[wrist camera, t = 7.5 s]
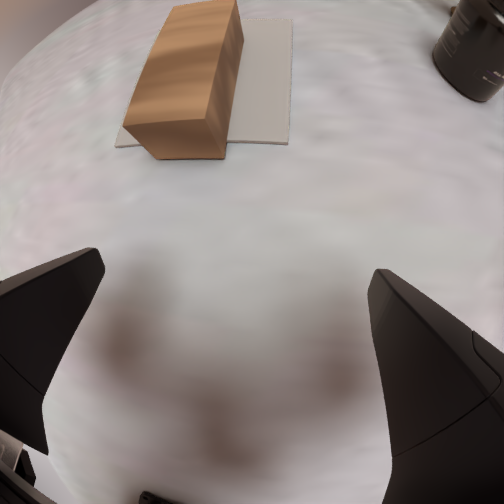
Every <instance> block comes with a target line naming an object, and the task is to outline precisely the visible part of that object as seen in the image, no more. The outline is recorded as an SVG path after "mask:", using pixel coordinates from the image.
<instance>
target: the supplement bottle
mask: <svg viewBox="0 0 504 504" xmlns="http://www.w3.org/2000/svg"><path fill="white" fill-rule="evenodd" d="M433 54H434V59H435V62H436V64H437V66H438V68H439V70H440V71H441V73H442V74H443V75H444V76H445V78H446V79H447V80H448V81H449V82H450V83H451V84H452V85H453V86H454V87H455V88H457V89H458V90H459V91H460V92H462V93H463V94H465V95H466V96H468V97H470V98H472V99H474V100H477V101H487V100H489V99H491V98H492V97H493V96H494V95H495V94H496V93H497V92H498V91H499V90H500V89H501V88H502V87H503V86H504V0H460V1H459V3H458V5H457V7H456V9H455V11H454V13H453V15H452V17H451V18H450V20H449V22H448V24H447V26H446V28H445V29H444V31H443V33H442V35H441V37H440V38H439V40H438V42H437V44H436V46H435V48H434V52H433Z"/></svg>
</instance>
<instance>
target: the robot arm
mask: <svg viewBox="0 0 504 504" xmlns="http://www.w3.org/2000/svg"><path fill="white" fill-rule="evenodd" d="M104 274H105V265H104V263H103V260H102V258H101V255H100V253H99V251H98V249H96V248H90V247H88V248H85V249H82V250H79V251H76V252H73V253H71V254H68V255H65V256H63V257H60V258H57V259H55V260H52V261H49V262H47V263H44V264H42V265H39V266H36V267H34V268H31V269H29V270H26V271H24V272H21V273H19V274H17V275H14V276H12V277H9V278H7V279H5V280H3V281H0V504H57V503H55V502H54V501H52V500H50V499H49V498H48V497H46V496H45V495H44V494H42V493H41V492H39V491H38V490H37V489H35V488H34V483H35V480H36V476H35V473H34V470H33V467H32V465H31V461H30V458H29V455H28V452H27V451H26V450H25V449H23V448H22V447H23V444H26V445H28V446H29V447H31V448H34V449H35V450H37V451H39V452H41V453H43V454H45V455H48V453H49V450H48V445H47V440H46V434H45V428H44V422H43V415H42V403H43V399H44V396H45V394H46V392H47V390H48V387H49V385H50V383H51V380H52V378H53V376H54V374H55V372H56V369H57V367H58V365H59V363H60V361H61V359H62V357H63V355H64V353H65V351H66V349H67V347H68V345H69V343H70V341H71V339H72V337H73V335H74V333H75V331H76V329H77V327H78V325H79V324H80V322H81V320H82V318H83V316H84V315H85V313H86V311H87V309H88V307H89V305H90V304H91V301H92V299H93V297H94V295H95V293H96V291H97V288H98V286H99V284H100V282H101V280H102V278H103V276H104ZM368 304H369V312H370V321H371V330H372V337H373V342H374V347H375V351H376V356H377V361H378V366H379V371H380V376H381V382H382V387H383V393H384V399H385V406H386V412H387V419H388V427H389V435H390V444H391V453H392V473H391V477H390V480H389V484H388V487H387V490H386V493H385V496H384V499H383V502H382V504H504V353H502V352H501V351H500V350H498V349H497V348H496V347H494V346H493V345H492V344H490V343H489V342H488V341H487V340H485V339H484V338H483V337H481V336H480V335H479V334H478V333H476V332H475V331H472V330H471V329H470V328H469V327H468V326H467V325H465V324H464V323H463V322H461V321H460V320H459V319H457V318H456V317H455V316H453V315H452V314H451V313H449V312H448V311H447V310H445V309H444V308H443V307H441V306H440V305H439V304H437V303H436V302H434V301H433V300H432V299H430V298H429V297H427V296H426V295H425V294H423V293H422V292H420V291H419V290H418V289H416V288H415V287H413V286H412V285H410V284H409V283H408V282H406V281H405V280H403V279H402V278H400V277H399V276H397V275H396V274H394V273H393V272H391V271H390V270H388V269H376V270H375V272H374V274H373V277H372V280H371V283H370V285H369V288H368ZM139 504H172V503H169V502H167V501H165V500H162V499H160V498H158V497H156V496H154V495H151V494H149V493H147V492H142V494H141V495H140V499H139Z"/></svg>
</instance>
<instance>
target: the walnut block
mask: <svg viewBox="0 0 504 504" xmlns="http://www.w3.org/2000/svg"><path fill="white" fill-rule="evenodd" d="M243 44H244V36H243V31H242V26H241V21H240V16H239V11H238V6H237V1H236V0H213V1H205V2H198V3H191V4H186V5H180V6H175V7H173V9H172V10H171V12H170V14H169V16H168V18H167V19H166V21H165V23H164V25H163V27H162V29H161V31H160V33H159V35H158V37H157V39H156V41H155V43H154V45H153V47H152V50H151V52H150V54H149V56H148V58H147V61H146V63H145V65H144V68H143V70H142V73H141V75H140V77H139V80H138V82H137V85H136V88H135V90H134V93H133V96H132V98H131V101H130V104H129V107H128V110H127V113H126V116H125V119H124V122H123V125H122V127H123V128H124V129H125V130H127V131H128V132H129V133H130V134H131V135H132V136H133V137H134V138H135V139H136V140H137V141H138V142H139V143H140V144H141V145H142V146H143V147H144V148H145V149H146V150H147V151H148V152H149V153H150V154H151V155H152V156H153V157H154V158H156V159H180V158H224V156H225V149H226V143H227V136H228V130H229V123H230V117H231V111H232V105H233V99H234V93H235V87H236V82H237V76H238V71H239V65H240V60H241V55H242V49H243Z"/></svg>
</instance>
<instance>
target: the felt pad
mask: <svg viewBox="0 0 504 504" xmlns="http://www.w3.org/2000/svg"><path fill="white" fill-rule="evenodd" d="M240 21H241V26H242V31H243V36H244V44H243V49H242V55H241V60H240V65H239V71H238V76H237V82H236V87H235V93H234V99H233V105H232V111H231V117H230V123H229V130H228V136H227V142H236V143H266V144H284V145H288V135H289V115H290V92H291V63H292V20H287V19H244V20H240ZM160 31H161V30H159V32H158V34H157V36H156V38H155V40H154V42H153V44H152V46H151V48H150V50H149V53H148V55H147V57H146V59H145V61H144V64H143V66H142V68H141V71H140V73H139V76H138V78H137V80H136V83H135V86H134V88H133V91H132V93H131V96H130V99H129V102H128V104H127V107H126V110H125V113H124V116H123V119H122V122H121V125H120V129H119V132H118V135H117V138H116V142H115V145H114V146H115V147H116V148H120V147H130V146H141V144H140V143H139V142H138V141H137V140H136V139H135V138H134V137H133V136H132V135H131V134H130V133H129V132H128V131H127V130H125V129H124V128H123V127H122V125H123V122H124V119H125V116H126V113H127V110H128V107H129V104H130V101H131V98H132V96H133V93H134V90H135V88H136V85H137V82H138V80H139V77H140V75H141V73H142V70H143V68H144V65H145V63H146V61H147V58H148V56H149V54H150V52H151V50H152V47H153V45H154V43H155V41H156V39H157V37H158V35H159V33H160Z"/></svg>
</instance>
